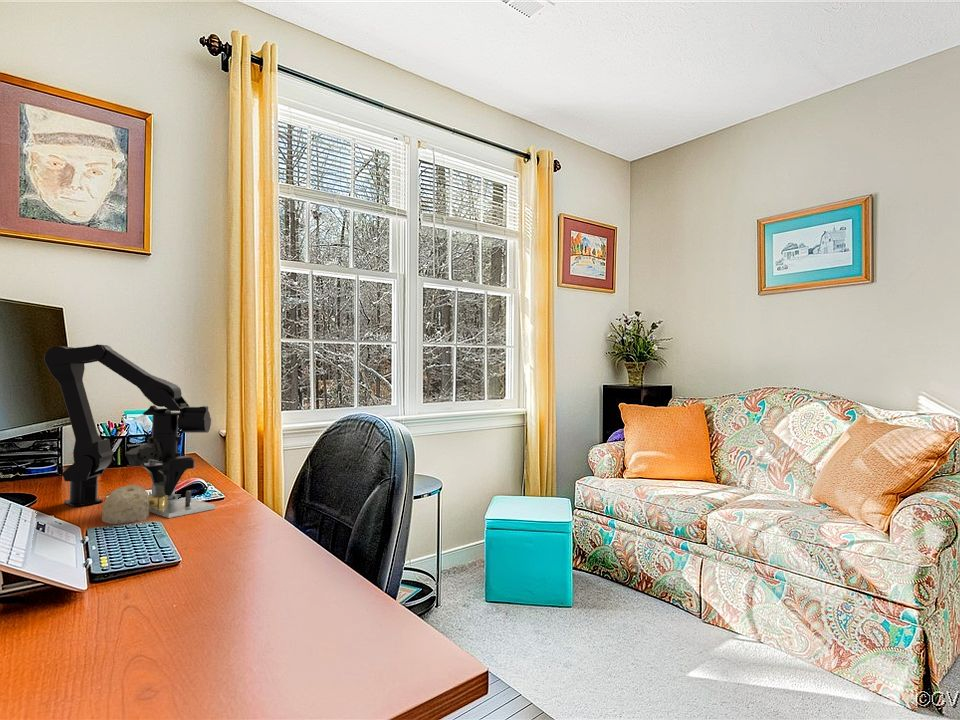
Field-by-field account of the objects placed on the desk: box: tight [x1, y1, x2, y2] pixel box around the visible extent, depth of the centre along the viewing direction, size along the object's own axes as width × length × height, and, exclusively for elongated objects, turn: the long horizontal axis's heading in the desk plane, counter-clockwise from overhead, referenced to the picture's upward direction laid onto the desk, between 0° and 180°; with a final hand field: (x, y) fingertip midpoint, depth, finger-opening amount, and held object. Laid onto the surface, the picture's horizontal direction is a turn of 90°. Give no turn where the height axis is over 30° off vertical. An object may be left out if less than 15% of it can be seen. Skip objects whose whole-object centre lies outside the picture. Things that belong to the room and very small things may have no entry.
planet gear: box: [148, 482, 182, 500], centre depth 145 cm, size 8×8×4 cm
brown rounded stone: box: [101, 484, 150, 525], centre depth 129 cm, size 9×10×10 cm
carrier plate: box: [148, 490, 216, 519], centre depth 138 cm, size 13×12×4 cm
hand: (163, 494), depth 145 cm, fingers closed on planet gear, 5 cm apart
